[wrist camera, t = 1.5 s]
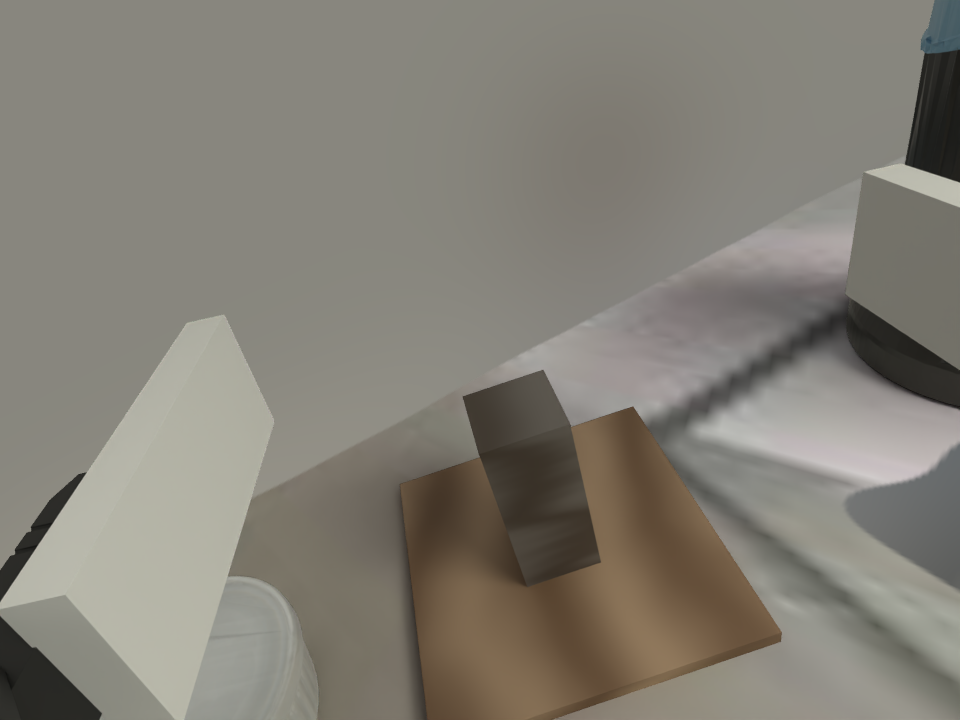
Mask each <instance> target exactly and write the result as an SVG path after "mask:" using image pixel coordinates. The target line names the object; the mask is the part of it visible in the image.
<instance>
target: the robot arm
mask: <svg viewBox="0 0 960 720" xmlns="http://www.w3.org/2000/svg"><path fill="white" fill-rule="evenodd" d="M921 50H923V51H924V52H925V55H924V60H923V66H922V72H921V77H920V83H919V89H918V95H917V101H916V107H915V113H914V118H913V123H912V128H911V134H910V139H909V144H908V150H907V155H906V160H905V165H904V164H897V165H892V166H888V167H883V168H879V169H874V170H870V171H865V172H863V178H862V185H861V191H860V198H859V205H858V211H857V218H856V224H855V231H854V238H853V244H852V251H851V257H850V264H849V271H848V277H847V284H846V290H845V295H847V296H848V297H850V300H849V307H848V315H847V322H846V329H847V334H848V338H849V340H850V342H851V344H852V346H853V348H854V349H855V351H856V352H857V353H858V354H859V356H860V357H861V358H862V359H863V360H864V361H865V362H866V363H867V364H868V365H870V366H871V367H872V368H873V369H874V370H876V371H877V372H879V373H880V374H882V375H883V376H885V377H886V378H888V379H890V380H891V381H893V382H895V383H897V384H899V385H901V386H903V387H905V388H907V389H909V390H911V391H914V392H916V393H918V394H921V395H924V396H926V397H929V398H932V399H935V400H938V401H941V402H945V403H948V404H952V405H956V406H960V0H935V1H934V6H933V10H932V15H931V18H930V23H929V27H928V29H927V30H926V31H925V33H924V34H923V36H922V39H921ZM273 425H274V419H273V417H272V415H271V413H270V411H269V408H268V406H267V404H266V402H265V400H264V398H263V396H262V394H261V391H260V389H259V387H258V385H257V383H256V381H255V379H254V377H253V374H252V372H251V370H250V368H249V366H248V364H247V362H246V360H245V358H244V355H243V354H242V351H241V349H240V347H239V345H238V343H237V341H236V339H235V336H234V334H233V332H232V330H231V328H230V326H229V324H228V322H227V319H226V318H225V315H220V316H216V317H211V318H207V319H202V320H198V321H193V322H189V323H187V324H186V325H185V327H184V328H183V330H182V331H181V333H180V334H179V336H178V337H177V339H176V340H175V342H174V343H173V345H172V346H171V348H170V349H169V351H168V352H167V354H166V355H165V357H164V358H163V359H162V361H161V363H160V364H159V365H158V367H157V369H156V370H155V371H154V373H153V375H152V376H151V378H150V379H149V381H148V382H147V383H146V385H145V386H144V388H143V389H142V391H141V393H140V394H139V395H138V397H137V398H136V400H135V401H134V403H133V404H132V406H131V408H130V409H129V411H128V412H127V413H126V415H125V416H124V418H123V419H122V421H121V422H120V424H119V425H118V427H117V428H116V430H115V431H114V433H113V434H112V436H111V437H110V439H109V440H108V442H107V443H106V445H105V446H104V448H103V449H102V451H101V452H100V454H99V455H98V457H97V458H96V460H95V461H94V463H93V464H92V466H91V467H90V469H89V470H88V472H86V473H82V474H78V475H77V476H76V477H75V478H74V479H73V480H72V481H71V482H69V483H68V484H67V485H66V486H65V487H64V488H63V489H62V490H60V491H59V492H58V493H57V494H56V495H55V496H54V497H53V498H52V499H51V500H49V502H48V503H47V505H46V506H45V508H44V509H43V511H42V512H41V513H40V515H39V516H38V518H37V519H36V520H35V522H34V523H33V525H32V526H31V532H28V533H26V535H25V536H24V537H23V539H22V540H21V542H20V543H19V545H18V546H17V547H16V549H15V555H12V556H10V557H9V559H8V560H7V561H6V563H5V564H4V566H3V567H2V568H1V570H0V720H100V717H102V718H103V719H104V720H184V718H185V715H186V712H187V708H188V705H189V702H190V699H191V695H192V692H193V689H194V685H195V682H196V679H197V676H198V672H199V669H200V666H201V662H202V659H203V656H204V652H205V649H206V646H207V643H208V639H209V636H210V633H211V629H212V626H213V623H214V619H215V616H216V613H217V610H218V606H219V603H220V600H221V596H222V593H223V590H224V586H225V583H226V580H227V577H228V573H229V570H230V567H231V563H232V560H233V557H234V554H235V550H236V547H237V544H238V540H239V537H240V534H241V530H242V527H243V524H244V521H245V517H246V514H247V511H248V507H249V504H250V501H251V497H252V494H253V491H254V488H255V484H256V481H257V478H258V474H259V471H260V468H261V464H262V461H263V458H264V455H265V451H266V448H267V445H268V441H269V438H270V435H271V431H272V428H273Z"/></svg>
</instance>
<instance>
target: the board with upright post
mask: <svg viewBox="0 0 960 720" xmlns="http://www.w3.org/2000/svg"><path fill="white" fill-rule="evenodd" d="M463 400H464V403H465V407H466V410H467V414H468V417H469V421H470V424H471V428H472V431H473V435H474V439H475V442H476V446H477V449H478V453H479V456H480V458H477V459H474V460H471V461H468V462H465V463H462V464H459V465H456V466H453V467H450V468H447V469H444V470H441V471H438V472H435V473H432V474H429V475H426V476H423V477H420V478H417V479H414V480H411V481H408V482H405V483H402V484H400V491H401V499H402V508H403V516H404V525H405V533H406V542H407V550H408V559H409V567H410V576H411V584H412V593H413V602H414V610H415V619H416V627H417V636H418V644H419V653H420V661H421V670H422V678H423V687H424V695H425V704H426V712H427V720H552V719H555V718H558V717H561V716H564V715H567V714H570V713H572V712H575V711H578V710H581V709H584V708H587V707H590V706H593V705H596V704H599V703H602V702H605V701H608V700H611V699H614V698H617V697H620V696H622V695H625V694H628V693H631V692H634V691H637V690H640V689H643V688H646V687H649V686H652V685H655V684H658V683H661V682H664V681H667V680H670V679H672V678H675V677H678V676H681V675H684V674H687V673H690V672H693V671H696V670H699V669H702V668H705V667H708V666H711V665H714V664H717V663H720V662H722V661H725V660H728V659H731V658H734V657H737V656H740V655H743V654H746V653H749V652H752V651H755V650H758V649H761V648H764V647H767V646H770V645H772V644H775V643H778V642H781V635H782V632H781V631H780V629H779V628H778V626H777V625H776V623H775V621H774V620H773V618H772V617H771V615H770V614H769V612H768V611H767V609H766V608H765V606H764V605H763V603H762V602H761V600H760V599H759V597H758V596H757V594H756V593H755V591H754V590H753V588H752V586H751V585H750V583H749V582H748V580H747V579H746V577H745V576H744V574H743V573H742V571H741V570H740V568H739V567H738V565H737V564H736V562H735V561H734V559H733V558H732V556H731V555H730V553H729V551H728V550H727V548H726V547H725V545H724V544H723V542H722V541H721V539H720V538H719V536H718V535H717V533H716V532H715V530H714V529H713V527H712V526H711V524H710V523H709V521H708V520H707V518H706V516H705V515H704V513H703V512H702V510H701V509H700V507H699V506H698V504H697V503H696V501H695V500H694V498H693V497H692V495H691V494H690V492H689V491H688V489H687V488H686V486H685V485H684V483H683V482H682V480H681V478H680V477H679V475H678V474H677V472H676V471H675V469H674V468H673V466H672V465H671V463H670V462H669V460H668V459H667V457H666V456H665V454H664V453H663V451H662V450H661V448H660V447H659V445H658V443H657V442H656V440H655V439H654V437H653V436H652V434H651V433H650V431H649V430H648V428H647V427H646V425H645V424H644V422H643V421H642V419H641V418H640V416H639V415H638V413H637V412H636V410H635V408H634V407H630V408H627V409H624V410H621V411H618V412H615V413H612V414H609V415H606V416H603V417H600V418H597V419H594V420H591V421H588V422H585V423H582V424H579V425H576V426H573V427H571V425H570V423H569V421H568V419H567V417H566V415H565V413H564V411H563V409H562V407H561V405H560V403H559V400H558V398H557V396H556V394H555V392H554V390H553V388H552V386H551V384H550V382H549V380H548V378H547V376H546V374H545V372H544V370H541V371H538V372H535V373H532V374H529V375H526V376H523V377H520V378H517V379H514V380H511V381H508V382H505V383H502V384H499V385H496V386H493V387H490V388H487V389H484V390H481V391H478V392H475V393H472V394H469V395H466V396H463Z"/></svg>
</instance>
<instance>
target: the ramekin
mask: <svg viewBox="0 0 960 720" xmlns="http://www.w3.org/2000/svg"><path fill="white" fill-rule="evenodd" d="M318 706H319V687H318V679H317V674H316V672H315V668H314V664H313V662H312V659H311V657H310V654H309V652H308V650H307V647H306V645H305V642H304V640H303V636H302V629H301V626H300V622H299V619H298V616H297V614H296V612H295V610H294V609H293V607H292V606H291V604H290V603H289V601H288V600H287V599H286V598H285V596H284V595H283V594H282V593H281V592H280V591H279V590H278V589H276V588H275V587H274V586H272V585H270V584H269V583H267V582H265V581H262V580H259V579H256V578H253V577H246V576H228V577H227V580H226V583H225V586H224V590H223V593H222V596H221V600H220V603H219V606H218V610H217V613H216V616H215V619H214V623H213V626H212V629H211V633H210V636H209V639H208V643H207V646H206V649H205V652H204V656H203V659H202V662H201V666H200V669H199V672H198V676H197V679H196V682H195V685H194V689H193V692H192V695H191V699H190V702H189V705H188V708H187V712H186V715H185V718H184V720H317V714H318ZM100 720H104V719H103V718H102V717H100Z"/></svg>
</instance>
